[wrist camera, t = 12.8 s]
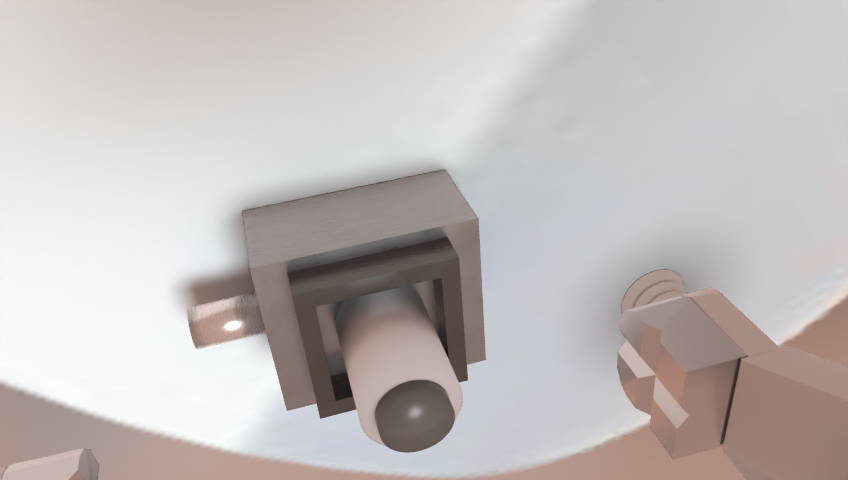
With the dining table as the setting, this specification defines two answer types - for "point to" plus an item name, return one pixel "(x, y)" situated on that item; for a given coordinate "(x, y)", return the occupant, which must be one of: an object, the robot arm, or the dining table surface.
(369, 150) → the dining table surface
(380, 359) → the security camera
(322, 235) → the motor block
